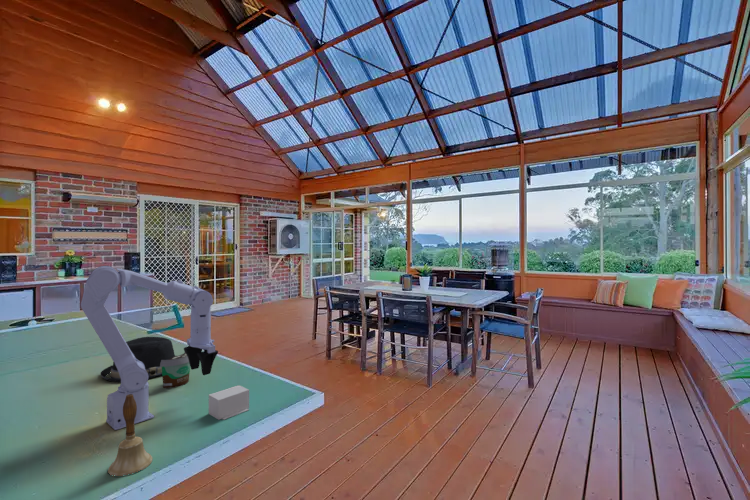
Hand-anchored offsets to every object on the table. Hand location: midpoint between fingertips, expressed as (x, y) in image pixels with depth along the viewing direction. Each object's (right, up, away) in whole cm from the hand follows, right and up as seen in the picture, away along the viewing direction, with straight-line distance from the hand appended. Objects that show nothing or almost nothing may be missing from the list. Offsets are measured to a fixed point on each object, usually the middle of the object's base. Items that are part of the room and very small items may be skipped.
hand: (200, 371), depth 113 cm
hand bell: (0, -11, -32) cm, 34 cm away
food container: (-15, -10, +16) cm, 24 cm away
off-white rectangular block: (+11, -10, -5) cm, 16 cm away
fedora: (-36, -10, +29) cm, 47 cm away
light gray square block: (+11, -10, -5) cm, 16 cm away
